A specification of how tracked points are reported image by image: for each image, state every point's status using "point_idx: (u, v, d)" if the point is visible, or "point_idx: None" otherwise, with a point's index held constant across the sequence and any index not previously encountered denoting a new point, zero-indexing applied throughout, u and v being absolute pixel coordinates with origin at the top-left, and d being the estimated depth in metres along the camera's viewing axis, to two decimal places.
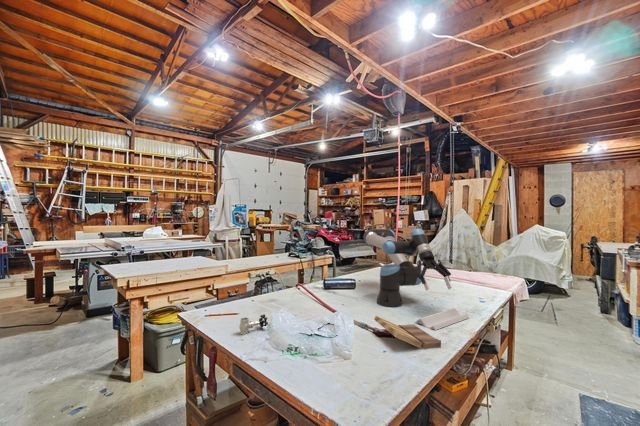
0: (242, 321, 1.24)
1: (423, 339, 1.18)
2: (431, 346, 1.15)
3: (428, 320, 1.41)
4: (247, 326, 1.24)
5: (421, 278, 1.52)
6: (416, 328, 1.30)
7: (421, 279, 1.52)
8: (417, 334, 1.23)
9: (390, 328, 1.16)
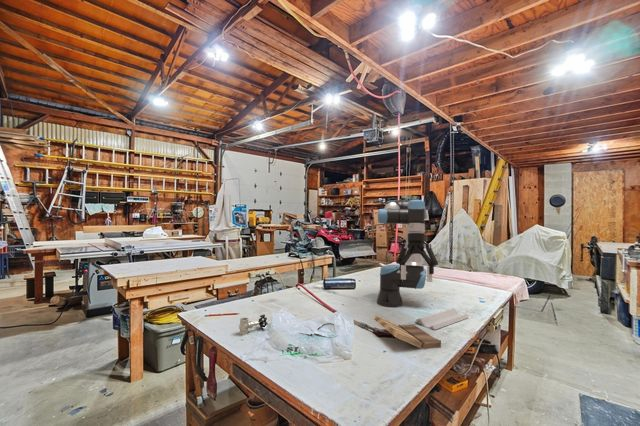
0: (242, 321, 1.24)
1: (423, 339, 1.18)
2: (431, 346, 1.15)
3: (427, 320, 1.41)
4: (247, 326, 1.24)
5: (400, 266, 1.35)
6: (416, 328, 1.30)
7: None
8: (417, 334, 1.23)
9: (390, 328, 1.16)
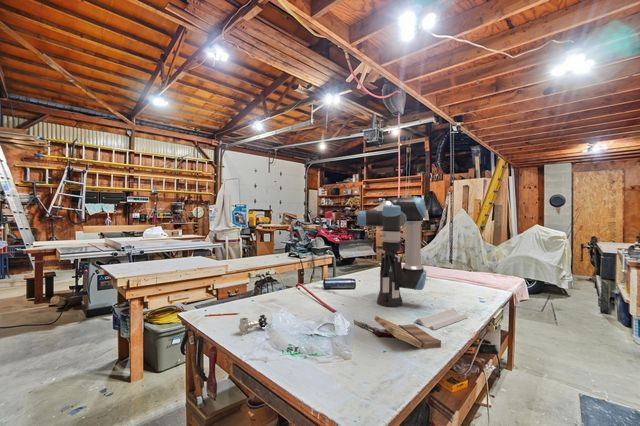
0: (241, 321, 1.24)
1: (423, 339, 1.18)
2: (431, 346, 1.15)
3: (427, 320, 1.41)
4: (246, 326, 1.24)
5: None
6: (416, 328, 1.30)
7: None
8: (417, 334, 1.23)
9: (390, 328, 1.16)
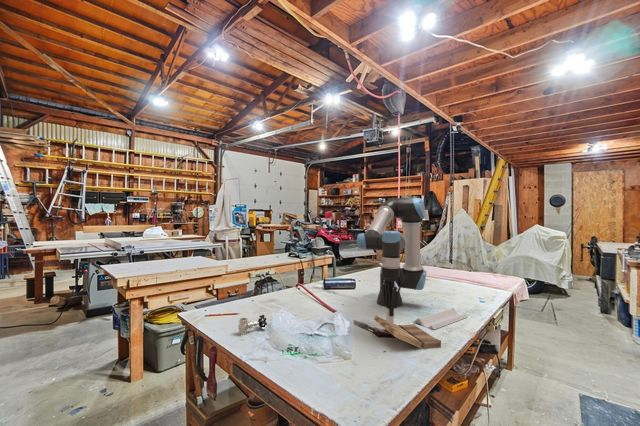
0: (241, 321, 1.24)
1: (423, 339, 1.18)
2: (431, 346, 1.15)
3: (426, 320, 1.42)
4: (246, 326, 1.24)
5: (387, 307, 1.23)
6: (416, 328, 1.30)
7: None
8: (417, 334, 1.23)
9: (390, 328, 1.16)
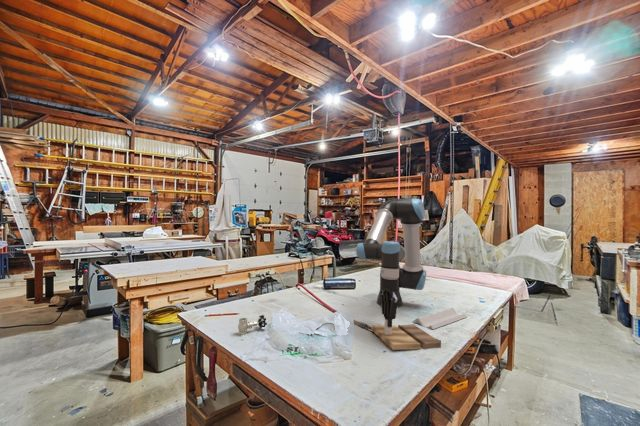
0: (241, 321, 1.23)
1: (423, 339, 1.18)
2: (431, 346, 1.15)
3: (426, 319, 1.42)
4: (246, 326, 1.24)
5: (385, 317, 1.23)
6: (416, 328, 1.30)
7: None
8: (417, 334, 1.23)
9: (386, 339, 1.16)
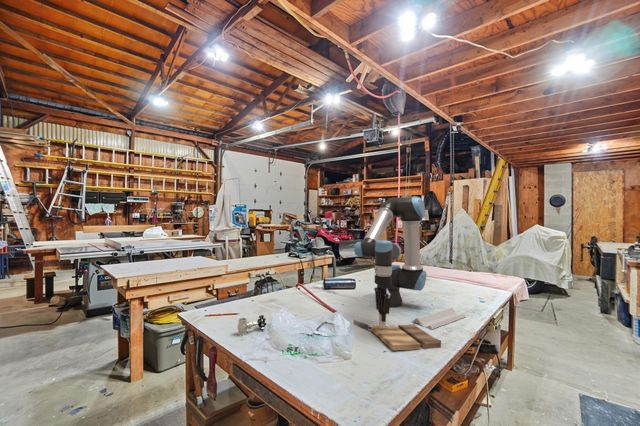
0: (240, 322, 1.23)
1: (423, 339, 1.18)
2: (431, 346, 1.15)
3: (425, 319, 1.42)
4: (245, 327, 1.24)
5: (379, 312, 1.30)
6: (416, 328, 1.30)
7: None
8: (417, 334, 1.23)
9: (386, 340, 1.16)
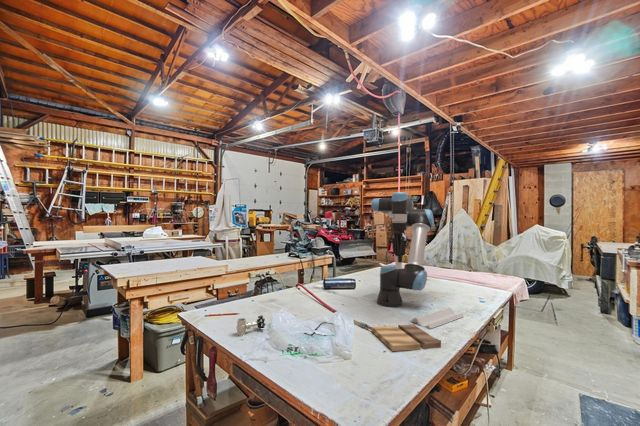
0: (239, 322, 1.23)
1: (423, 339, 1.18)
2: (431, 346, 1.15)
3: (423, 319, 1.43)
4: (244, 327, 1.23)
5: None
6: (416, 328, 1.30)
7: None
8: (417, 334, 1.23)
9: (386, 341, 1.16)
